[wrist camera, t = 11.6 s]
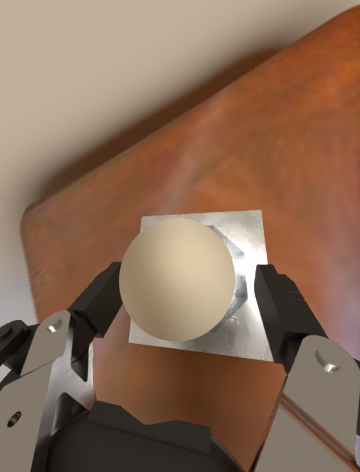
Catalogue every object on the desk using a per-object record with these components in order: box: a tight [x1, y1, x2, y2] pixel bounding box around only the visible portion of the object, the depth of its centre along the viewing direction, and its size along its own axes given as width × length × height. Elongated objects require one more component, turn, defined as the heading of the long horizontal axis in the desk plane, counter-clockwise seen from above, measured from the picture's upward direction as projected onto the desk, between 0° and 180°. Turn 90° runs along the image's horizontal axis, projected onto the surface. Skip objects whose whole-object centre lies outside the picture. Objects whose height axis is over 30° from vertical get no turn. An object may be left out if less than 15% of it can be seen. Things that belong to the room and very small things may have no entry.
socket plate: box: [129, 210, 274, 362], centre depth 16 cm, size 14×14×4 cm
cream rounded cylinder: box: [119, 218, 235, 342], centre depth 11 cm, size 5×5×10 cm
